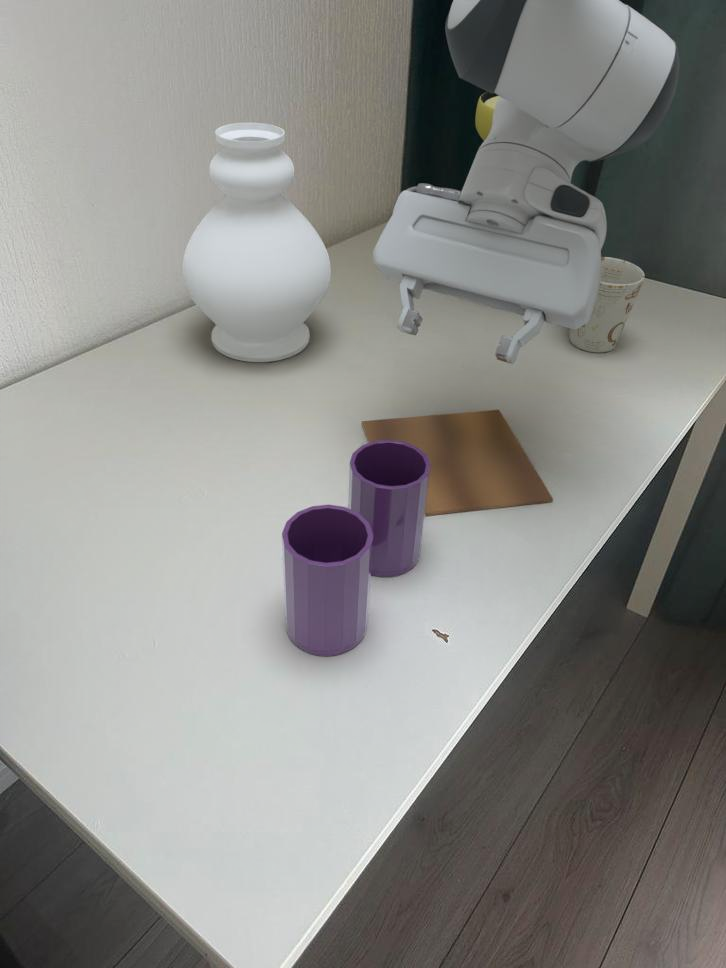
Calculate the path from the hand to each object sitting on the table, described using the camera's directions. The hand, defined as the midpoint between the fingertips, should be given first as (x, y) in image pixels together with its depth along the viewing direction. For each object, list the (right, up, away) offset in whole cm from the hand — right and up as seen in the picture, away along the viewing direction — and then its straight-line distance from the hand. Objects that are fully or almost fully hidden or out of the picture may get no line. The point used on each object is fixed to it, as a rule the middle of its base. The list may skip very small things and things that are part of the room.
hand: (453, 345), depth 68 cm
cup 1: (-11, -24, -5) cm, 27 cm away
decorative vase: (-21, +7, +32) cm, 39 cm away
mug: (+21, +8, +35) cm, 42 cm away
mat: (+1, -10, +13) cm, 16 cm away
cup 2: (-6, -18, +2) cm, 19 cm away
